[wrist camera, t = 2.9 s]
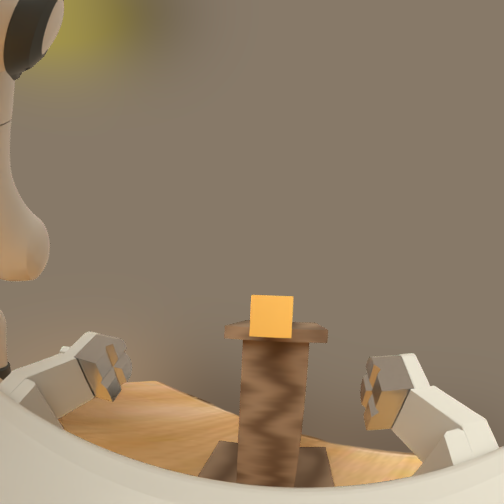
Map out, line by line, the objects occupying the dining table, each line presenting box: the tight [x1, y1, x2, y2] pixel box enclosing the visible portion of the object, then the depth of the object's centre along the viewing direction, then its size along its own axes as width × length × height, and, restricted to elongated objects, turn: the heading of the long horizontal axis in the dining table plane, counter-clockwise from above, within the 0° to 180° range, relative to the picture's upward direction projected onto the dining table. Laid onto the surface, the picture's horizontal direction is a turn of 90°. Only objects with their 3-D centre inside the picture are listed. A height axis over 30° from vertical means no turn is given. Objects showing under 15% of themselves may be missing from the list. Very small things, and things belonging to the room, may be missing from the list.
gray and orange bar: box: [249, 295, 293, 338], centre depth 35 cm, size 3×26×3 cm, turn 172°
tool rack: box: [198, 320, 334, 488], centre depth 38 cm, size 20×17×26 cm
